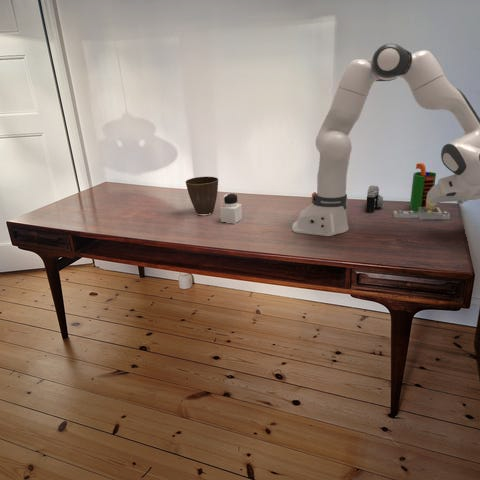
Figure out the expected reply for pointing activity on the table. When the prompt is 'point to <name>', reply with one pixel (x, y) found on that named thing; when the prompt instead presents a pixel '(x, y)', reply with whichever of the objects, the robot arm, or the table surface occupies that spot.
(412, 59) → the robot arm
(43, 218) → the table surface
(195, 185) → the plant pot
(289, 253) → the table surface
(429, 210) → the link pin
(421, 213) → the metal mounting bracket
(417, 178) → the motor
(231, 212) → the medicine bottle
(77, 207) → the table surface
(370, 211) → the camera
